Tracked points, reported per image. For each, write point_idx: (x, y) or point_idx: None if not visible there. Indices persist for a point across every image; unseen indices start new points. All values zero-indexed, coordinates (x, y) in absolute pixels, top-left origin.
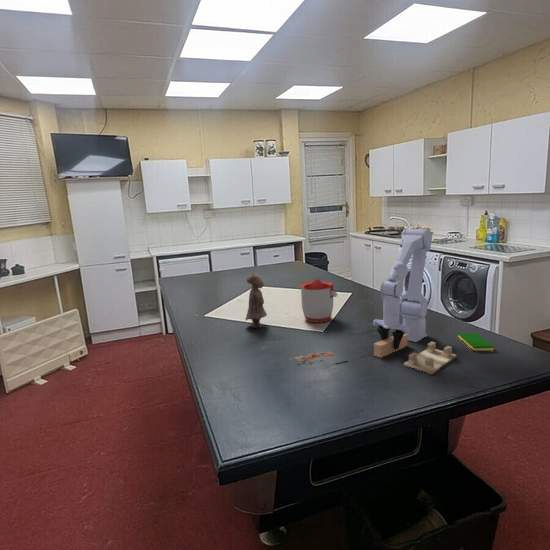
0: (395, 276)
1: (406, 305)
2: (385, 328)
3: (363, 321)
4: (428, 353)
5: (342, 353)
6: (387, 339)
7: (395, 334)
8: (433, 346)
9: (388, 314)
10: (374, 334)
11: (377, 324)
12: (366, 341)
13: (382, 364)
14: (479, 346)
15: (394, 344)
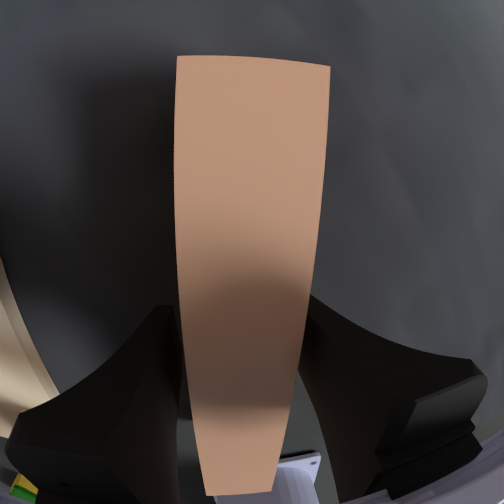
0: None
1: None
2: (370, 477)
3: (492, 414)
4: (17, 395)
5: (467, 7)
6: (269, 351)
7: (40, 429)
8: None
9: None
10: None
11: (502, 442)
12: (457, 294)
13: (98, 10)
14: (14, 492)
15: (152, 330)
